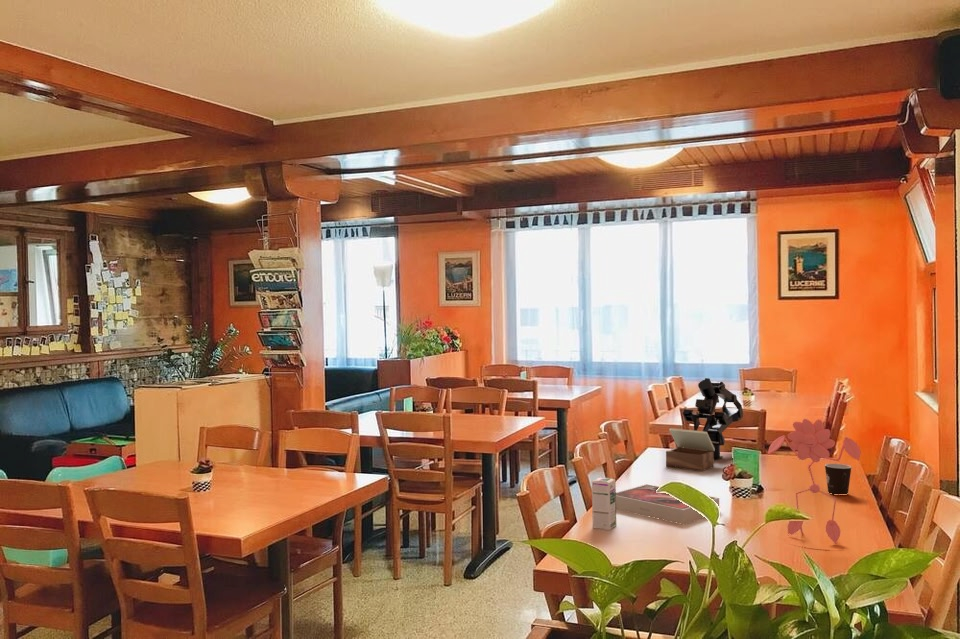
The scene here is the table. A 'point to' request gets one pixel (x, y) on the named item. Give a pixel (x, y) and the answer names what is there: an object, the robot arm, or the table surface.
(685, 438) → the lid
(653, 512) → the product packaging
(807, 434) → the pink flower figurine
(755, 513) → the table surface
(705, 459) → the walnut box
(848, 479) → the coffee mug
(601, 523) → the syrup box
